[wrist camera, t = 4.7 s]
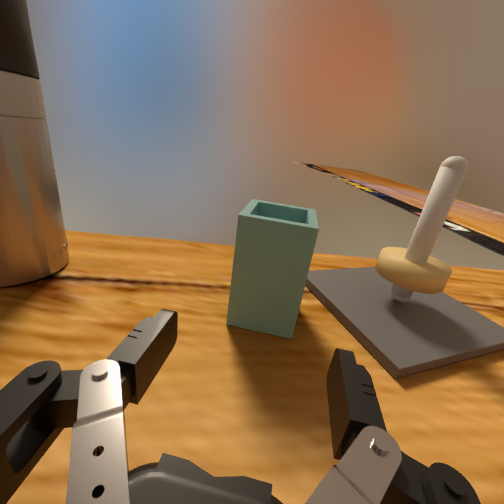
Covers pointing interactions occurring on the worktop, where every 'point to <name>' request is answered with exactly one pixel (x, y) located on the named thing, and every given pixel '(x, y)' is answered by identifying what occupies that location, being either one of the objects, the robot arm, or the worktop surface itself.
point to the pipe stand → (410, 296)
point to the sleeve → (271, 266)
